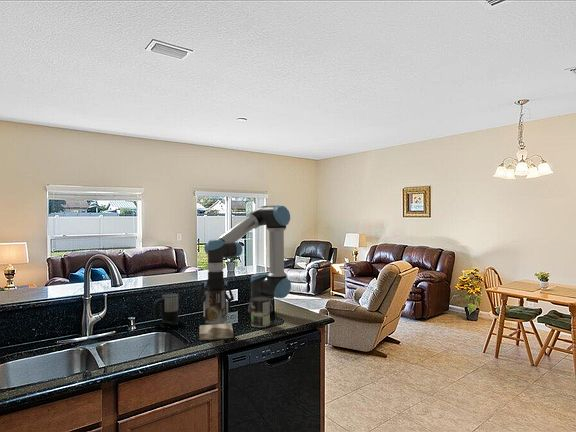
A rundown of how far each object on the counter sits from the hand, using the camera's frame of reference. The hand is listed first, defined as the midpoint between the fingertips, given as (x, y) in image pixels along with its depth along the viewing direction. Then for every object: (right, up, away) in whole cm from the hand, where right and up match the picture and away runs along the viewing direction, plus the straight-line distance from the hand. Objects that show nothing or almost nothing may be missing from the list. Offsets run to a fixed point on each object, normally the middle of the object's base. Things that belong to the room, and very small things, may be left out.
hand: (215, 315), depth 183 cm
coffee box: (0, -4, 0) cm, 4 cm away
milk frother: (-29, -10, +20) cm, 36 cm away
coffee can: (+21, -10, +16) cm, 28 cm away
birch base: (0, -9, 0) cm, 9 cm away
